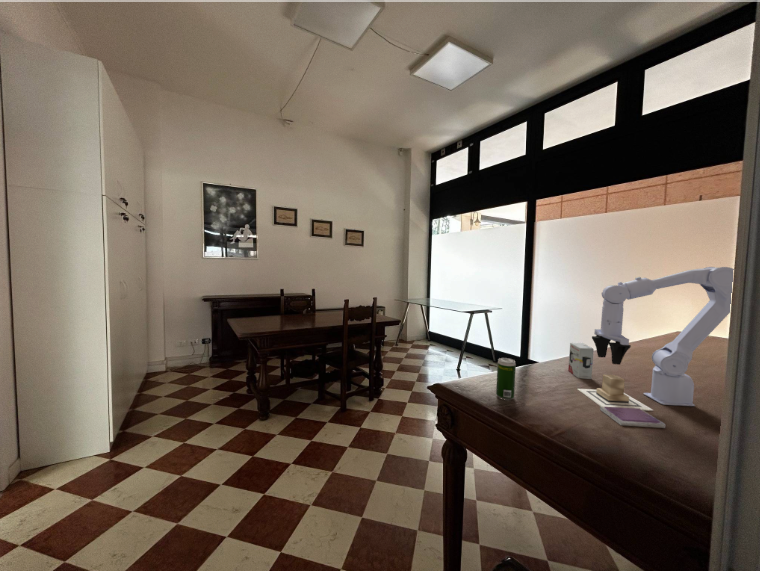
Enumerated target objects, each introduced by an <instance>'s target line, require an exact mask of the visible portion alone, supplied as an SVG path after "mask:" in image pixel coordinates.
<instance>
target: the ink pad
mask: <svg viewBox="0 0 760 571" xmlns="http://www.w3.org/2000/svg"><path fill="white" fill-rule="evenodd" d="M599 410H600V411H601V412H602V413H603V414H605V415H607V417H609V418H610V419H611V420H613V421H614V422H616V423H617V424H618V425H620V426H624V427H643V428H644V427H645V428H662V429H665V428H666V424H665V423H664V422H663V421H661V420H659V419H658V418H657V417H655V416H653V415H652V414H650V413H648V412H647V411H643V410H641V409H640V408H622V407H603V406H599Z"/></svg>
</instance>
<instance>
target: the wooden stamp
mask: <svg viewBox="0 0 760 571" xmlns="http://www.w3.org/2000/svg"><path fill="white" fill-rule="evenodd" d="M601 381H602V383H601V385H602V386H601V388H600V387H597V388H596V390H597V392H596V394H597V395H598V396H600V397H601V398H603V399H604V400H606V401H607V402H615V403H629V396H630V395H629V396H627V395H628V394H627V395H625V394H626V393H625V381H626V380H625V379H624V378H622V377H620V376H619V375H617V374H602V380H601ZM624 393H625V394H624Z"/></svg>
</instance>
